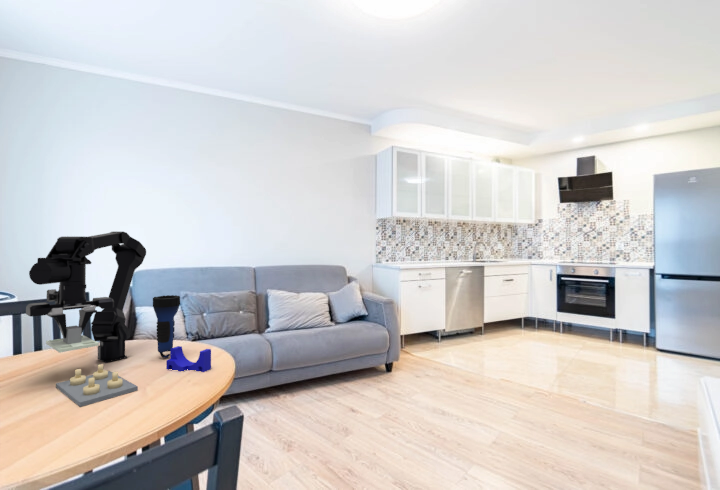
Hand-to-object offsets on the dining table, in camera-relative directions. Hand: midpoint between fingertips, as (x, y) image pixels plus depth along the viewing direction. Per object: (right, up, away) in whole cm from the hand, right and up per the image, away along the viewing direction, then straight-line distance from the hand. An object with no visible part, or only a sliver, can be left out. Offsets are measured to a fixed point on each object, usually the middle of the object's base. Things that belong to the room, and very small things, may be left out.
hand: (72, 336), depth 102 cm
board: (0, -2, 0) cm, 2 cm away
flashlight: (+17, -11, +17) cm, 27 cm away
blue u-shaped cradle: (+30, -12, +6) cm, 33 cm away
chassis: (+13, -11, -9) cm, 19 cm away
